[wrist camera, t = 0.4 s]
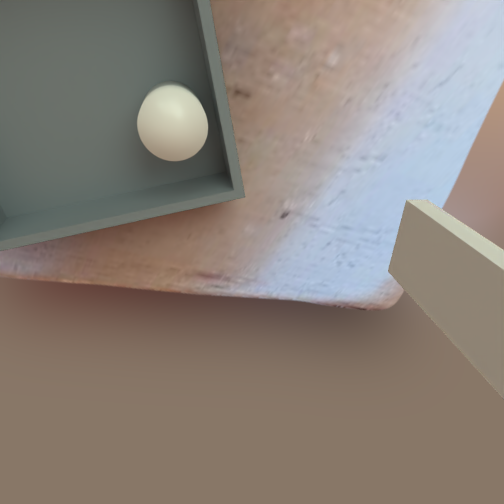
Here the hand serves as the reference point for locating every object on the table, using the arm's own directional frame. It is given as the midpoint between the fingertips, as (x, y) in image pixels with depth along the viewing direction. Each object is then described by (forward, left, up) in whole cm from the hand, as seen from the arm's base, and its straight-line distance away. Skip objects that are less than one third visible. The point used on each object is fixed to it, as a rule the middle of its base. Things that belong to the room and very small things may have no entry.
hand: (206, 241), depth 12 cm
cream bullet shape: (0, -1, -25) cm, 25 cm away
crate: (-4, -7, -26) cm, 27 cm away
